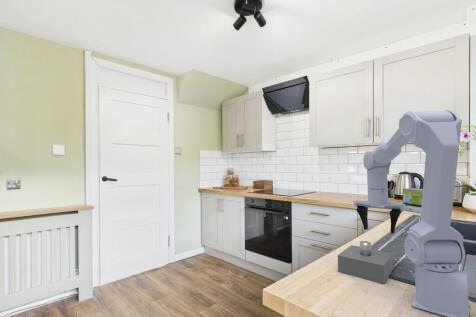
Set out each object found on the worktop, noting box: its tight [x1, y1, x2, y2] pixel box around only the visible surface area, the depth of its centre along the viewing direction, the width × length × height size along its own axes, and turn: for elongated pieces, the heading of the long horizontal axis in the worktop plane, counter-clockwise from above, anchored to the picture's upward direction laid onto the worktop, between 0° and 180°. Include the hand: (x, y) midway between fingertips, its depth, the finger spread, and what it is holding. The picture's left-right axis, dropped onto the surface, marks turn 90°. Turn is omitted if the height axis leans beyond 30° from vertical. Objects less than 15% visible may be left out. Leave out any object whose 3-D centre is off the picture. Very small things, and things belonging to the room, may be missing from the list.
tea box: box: [402, 187, 423, 214], centre depth 164 cm, size 15×10×15 cm
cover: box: [337, 240, 395, 285], centre depth 76 cm, size 12×12×8 cm
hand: (378, 231), depth 81 cm, fingers open, 7 cm apart
